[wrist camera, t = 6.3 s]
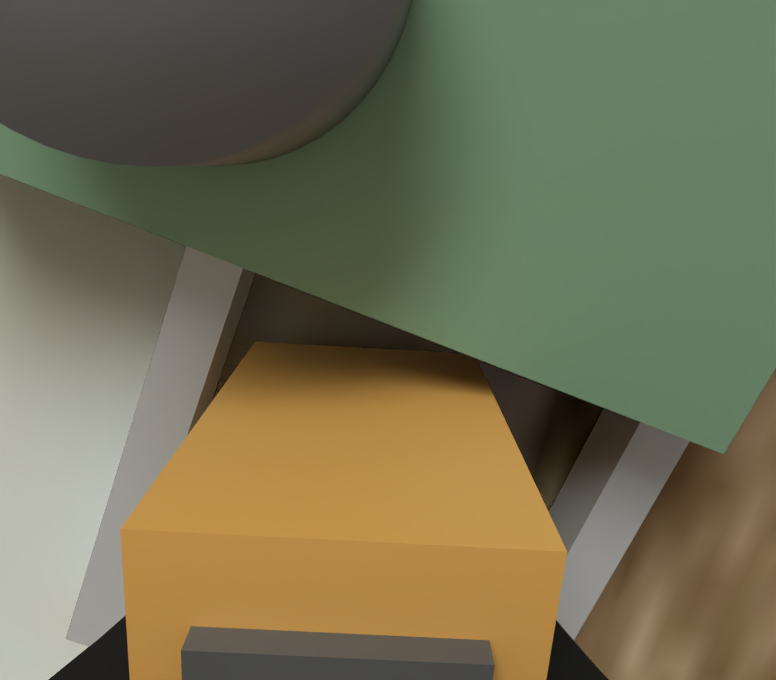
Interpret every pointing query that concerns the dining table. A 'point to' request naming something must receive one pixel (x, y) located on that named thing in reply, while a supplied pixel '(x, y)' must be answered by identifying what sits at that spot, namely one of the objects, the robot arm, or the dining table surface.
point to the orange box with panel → (344, 529)
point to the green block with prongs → (432, 207)
